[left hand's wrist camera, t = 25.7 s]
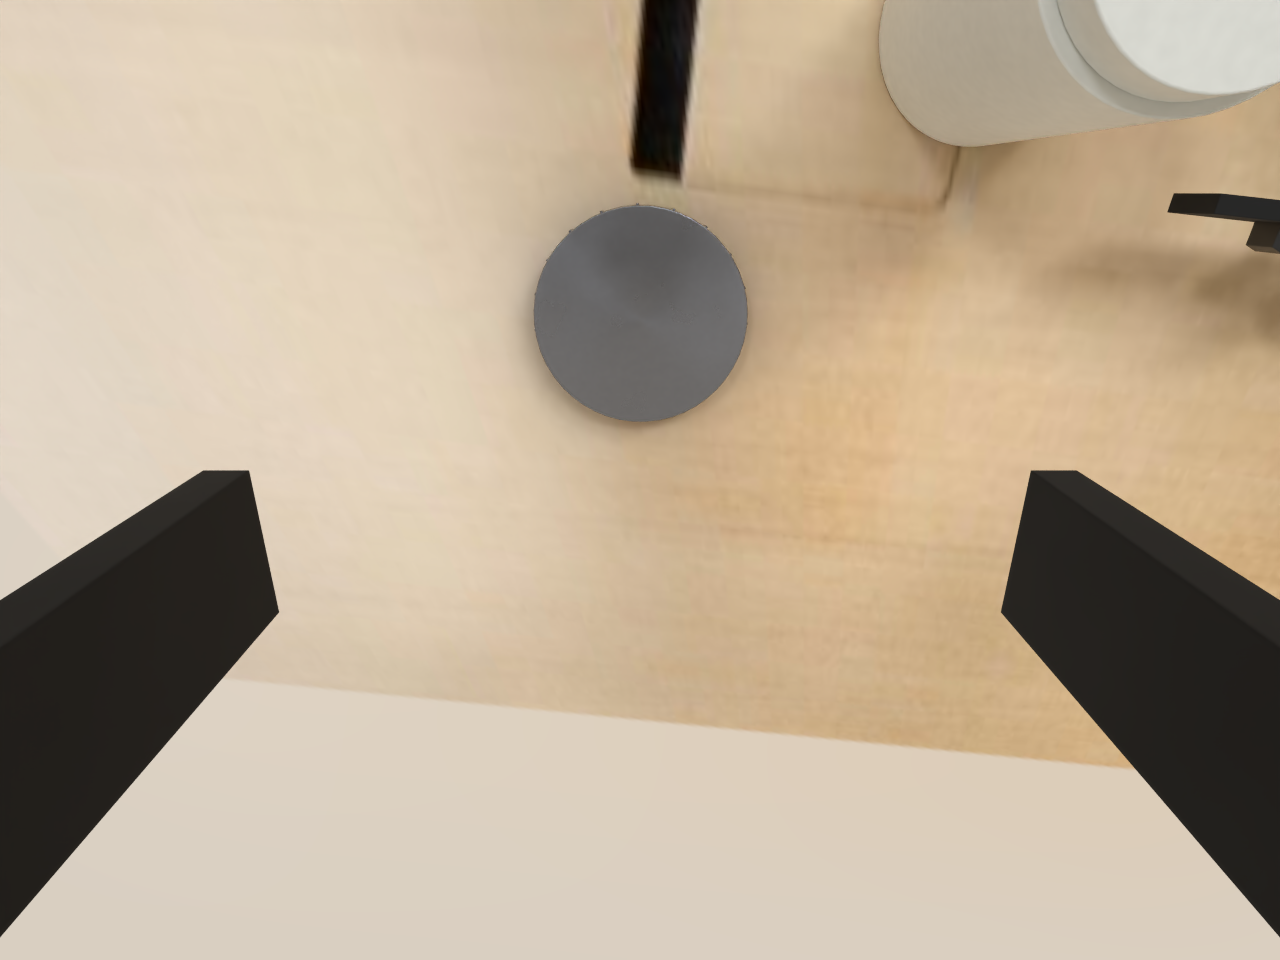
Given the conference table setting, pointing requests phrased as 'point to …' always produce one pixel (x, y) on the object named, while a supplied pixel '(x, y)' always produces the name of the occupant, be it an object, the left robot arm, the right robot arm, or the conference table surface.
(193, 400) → the conference table surface
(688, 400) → the lid
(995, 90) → the jar
